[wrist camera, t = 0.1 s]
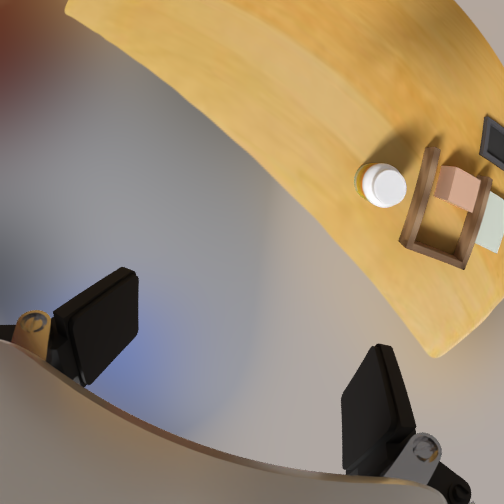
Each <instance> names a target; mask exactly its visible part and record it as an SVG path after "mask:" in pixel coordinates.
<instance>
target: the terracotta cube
mask: <svg viewBox="0 0 504 504" xmlns="http://www.w3.org/2000/svg"><path fill="white" fill-rule="evenodd" d="M480 182H481V180H479V179H477V178H475V177H474V176H472V175H470V174H469V173H467V172H465V171H463V170H461V169H460V168H458V167H453V166H441V170H440V174H439V178H438V182H437V185H436V189H435V193H434V197H437V198H439V199H441V200H443V201H445V202H447V203H450V204H452V205H454V206H456V207H458V208H461V209H463V210H466V211H468V212H471V213H472V212H473V209H474V205H475V202H476V198H477V194H478V190H479V186H480Z"/></svg>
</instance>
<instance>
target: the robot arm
mask: <svg viewBox="0 0 504 504" xmlns="http://www.w3.org/2000/svg"><path fill="white" fill-rule="evenodd" d="M138 279H139V278H138V276H136V273H135V271H132V270H130V269H127V268H125V267H121V268H119V269H117V270H116V271H114V272H113V273H111V274H109V275H108V276H106V277H105V278H103V279H102V280H100V281H98V282H97V283H95V284H94V285H92V286H90V287H89V288H87V289H86V290H84V291H83V292H81V293H80V294H78V295H77V296H75V297H74V298H72V299H71V300H69V301H68V302H66V303H65V304H63V305H62V306H60V307H59V308H57V309H56V310H55V311H53V314H54V317H53V318H50V316H49V315H48V314H47V313H45V312H43V311H39V310H32V311H28V312H26V313H24V314H22V315H21V316H20V317H19V319H18V320H17V323H16V325H0V504H475V503H474V502H471V503H470V498H471V489H470V486H469V485H468V483H467V482H466V481H465V480H464V479H462V478H461V477H460V476H458V475H457V474H456V473H454V472H453V471H452V470H450V469H449V468H448V467H447V466H445V465H444V464H442V463H441V462H440V458H441V455H442V449H441V446H440V444H439V442H438V441H437V439H436V438H434V437H433V436H432V435H430V434H428V433H417V434H416V430H415V428H416V424H415V420H414V416H413V412H412V409H411V405H410V401H409V398H408V395H407V391H406V388H405V385H404V382H403V378H402V375H401V372H400V369H399V366H398V363H397V360H396V357H395V354H394V351H393V348H392V347H391V346H388V345H383V344H377V345H376V346H372V347H371V348H370V350H369V351H368V353H367V355H366V357H365V358H364V360H363V362H362V363H361V365H360V367H359V368H358V370H357V372H356V373H355V375H354V377H353V378H352V380H351V381H350V383H349V384H348V386H347V387H346V389H345V390H344V392H343V394H342V397H341V408H342V409H341V410H342V445H343V446H342V453H343V455H342V459H343V460H342V462H343V463H342V464H343V465H342V466H343V469H344V470H346V475H341V474H331V473H323V472H315V471H307V470H300V469H294V468H288V467H282V466H277V465H272V464H268V463H263V462H259V461H255V460H251V459H247V458H243V457H239V456H236V455H232V454H229V453H225V452H222V451H219V450H216V449H213V448H210V447H207V446H204V445H201V444H198V443H195V442H193V441H190V440H187V439H185V438H182V437H179V436H177V435H174V434H172V433H170V432H167V431H165V430H163V429H160V428H158V427H156V426H154V425H152V424H149V423H147V422H145V421H143V420H141V419H139V418H137V417H135V416H133V415H130V414H129V413H127V412H125V411H123V410H121V409H120V408H118V407H116V406H114V405H112V404H110V403H109V402H107V401H105V400H104V399H102V398H100V397H98V396H97V395H95V394H94V393H92V392H90V391H88V390H87V389H85V388H84V387H85V386H86V385H90V384H92V383H93V382H94V380H95V379H96V378H97V377H98V376H99V375H100V374H101V373H102V372H103V371H104V370H105V369H106V368H107V366H108V365H109V364H110V363H111V362H112V361H113V360H114V359H115V358H116V357H117V356H118V355H119V354H120V353H121V351H122V350H123V349H124V348H125V347H126V346H127V345H128V344H129V343H130V342H131V341H132V340H133V339H134V338H135V337H136V335H137V333H138V284H139V280H138Z"/></svg>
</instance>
